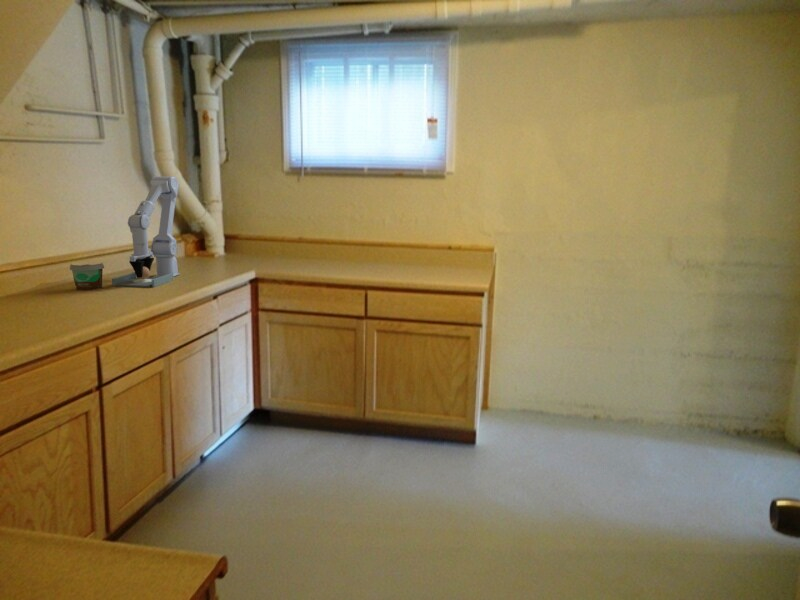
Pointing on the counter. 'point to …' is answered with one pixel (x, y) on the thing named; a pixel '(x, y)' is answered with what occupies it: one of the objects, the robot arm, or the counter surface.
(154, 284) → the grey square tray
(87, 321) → the counter surface
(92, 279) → the food container
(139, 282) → the mat
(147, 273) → the ball
